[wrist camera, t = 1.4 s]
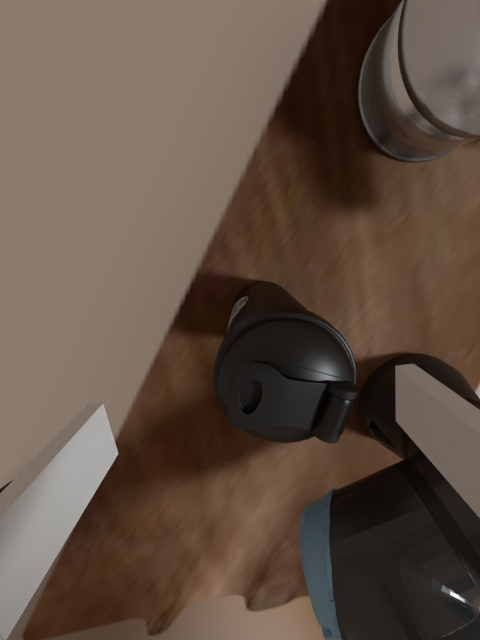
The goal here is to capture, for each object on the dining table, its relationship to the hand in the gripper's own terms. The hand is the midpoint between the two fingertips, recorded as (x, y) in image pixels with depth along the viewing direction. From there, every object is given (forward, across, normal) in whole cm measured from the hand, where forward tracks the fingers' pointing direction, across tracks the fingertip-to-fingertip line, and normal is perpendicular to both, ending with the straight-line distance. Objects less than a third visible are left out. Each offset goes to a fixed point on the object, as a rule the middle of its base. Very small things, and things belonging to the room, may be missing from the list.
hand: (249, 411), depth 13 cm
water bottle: (+27, +2, -2) cm, 27 cm away
